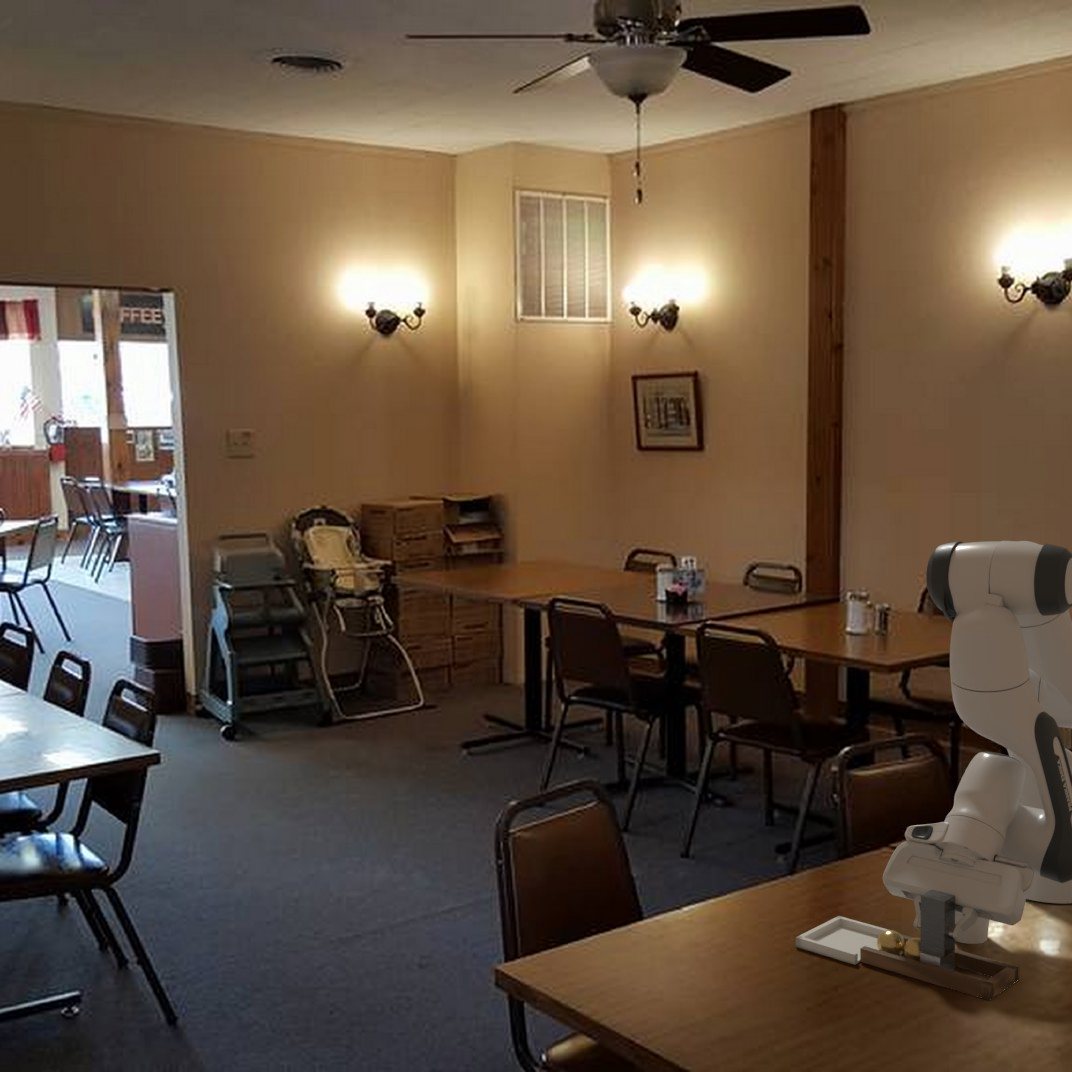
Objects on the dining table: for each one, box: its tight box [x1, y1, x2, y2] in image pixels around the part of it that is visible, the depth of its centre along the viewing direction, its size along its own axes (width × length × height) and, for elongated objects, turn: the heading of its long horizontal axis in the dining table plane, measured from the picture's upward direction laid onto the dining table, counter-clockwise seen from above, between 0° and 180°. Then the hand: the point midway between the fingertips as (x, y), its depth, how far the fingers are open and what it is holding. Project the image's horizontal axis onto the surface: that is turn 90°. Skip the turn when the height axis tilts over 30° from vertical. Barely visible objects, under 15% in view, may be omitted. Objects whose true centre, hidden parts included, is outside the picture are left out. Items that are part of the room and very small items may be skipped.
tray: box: [795, 915, 889, 966], centre depth 197 cm, size 12×10×2 cm
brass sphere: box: [902, 937, 922, 962], centre depth 189 cm, size 4×4×4 cm
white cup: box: [955, 911, 990, 945], centre depth 199 cm, size 7×7×7 cm
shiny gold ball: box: [877, 929, 905, 957], centre depth 192 cm, size 4×4×4 cm
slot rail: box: [859, 933, 1020, 1001], centre depth 187 cm, size 9×20×2 cm, turn 46°
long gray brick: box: [920, 889, 956, 972], centre depth 186 cm, size 4×4×11 cm
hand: (935, 933), depth 185 cm, fingers closed on long gray brick, 4 cm apart
